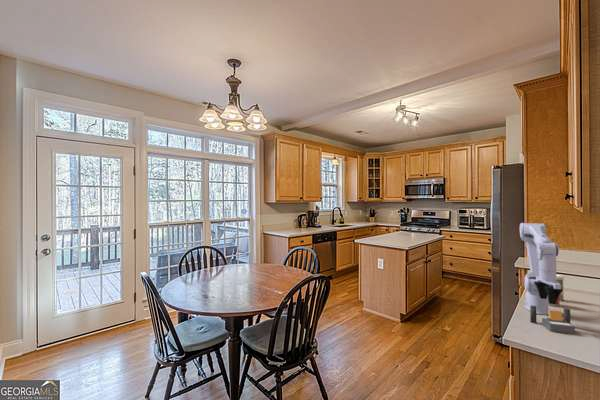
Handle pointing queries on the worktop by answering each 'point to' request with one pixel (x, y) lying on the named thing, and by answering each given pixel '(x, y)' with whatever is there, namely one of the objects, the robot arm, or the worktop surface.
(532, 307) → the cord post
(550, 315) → the breaker paddle
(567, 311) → the cylinder
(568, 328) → the breaker box
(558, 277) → the sprinkles bottle
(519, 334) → the worktop surface
